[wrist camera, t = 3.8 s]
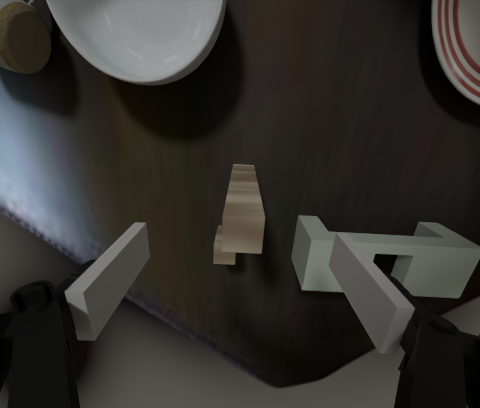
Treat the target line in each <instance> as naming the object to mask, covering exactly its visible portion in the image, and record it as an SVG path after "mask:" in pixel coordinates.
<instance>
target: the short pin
mask: <svg viewBox="0 0 480 408" xmlns="http://www.w3.org/2000/svg"><path fill="white" fill-rule="evenodd" d="M222 229H223V225H218V229H217V234H216V238H215V243H214V264H232V265H235V254H236V252H222Z"/></svg>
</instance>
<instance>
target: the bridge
mask: <svg viewBox="0 0 480 408" xmlns="http://www.w3.org/2000/svg"><path fill="white" fill-rule="evenodd" d="M336 233H344V232H328V230H327V229H326V228H325V226H324V225H323V224H322V222H321V221H320V219H319V218H318V217H317V216H300V215H298V220H297V226H296V233H295V239H294V245H293V251H292V257H291V259H292V262H293V265H294V268H295V271H296V274H297V277H298V280H299V283H300V286H301V289H302V290H311V291H330V292H343V290H342V288H341V287H340V285H339V283H338V282H337V280H336V278H335V276H334V275H333V273H332V271H331V270H330V268H329V261H330V257H331V252H332V248H333V244H334V239H335V235H336ZM347 234H348V235H349V236H350V237H351V238H352V239H353V240H354V242H355V243H356V244H357V245H358V246H359V247H360V248H361V249H362V250H363V252H364V253H365V254H366V255H367V256H368V257H369V258H370V259H371V260H372V261H373V260H374V256H375V254H393V255H398V256H397V259H396V262H395V265H394V267H393V270H392V273H391V276H393V277H394V278H396V279H397V280H398V281H399V282H400V283H401V284H402V285H403V286H404V288H406V289H407V290H408V291H409V292H410V294H412V295H413V296H425V297H445V298H459V297H460V296H461V294H462V292H463V290H464V288H465V286H466V284H467V282H468V280H469V278H470V276H471V274H472V273H473V271H474V269H475V267H476V265H477V263H478V261H479V259H480V246H478V245H476V244H475V243H473V242H471V241H469V240H467V239H466V238H464V237H462V236H460V235H458V234H457V233H455V232H453V231H451V230H449V229H448V228H446V227H444V226H442V225H440V224H439V223H430V222H418V225H417V228H416V230H415V233H414V236H400V235H381V234H363V233H347Z"/></svg>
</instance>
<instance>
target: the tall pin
mask: <svg viewBox="0 0 480 408" xmlns="http://www.w3.org/2000/svg"><path fill="white" fill-rule="evenodd" d="M264 224H265V215H264V210H263V205H262V200H261V196H260V191H259V186H258V181H257V177H256V172H255V167H254V165H239V164H233V169H232V174H231V178H230V183H229V188H228V193H227V198H226V203H225V208H224V212H223V229H222V252H239V253H258V254H261V253H262V244H263V234H264Z"/></svg>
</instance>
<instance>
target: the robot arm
mask: <svg viewBox="0 0 480 408" xmlns="http://www.w3.org/2000/svg"><path fill="white" fill-rule="evenodd" d="M149 258H150V255H149V245H148V235H147V226H146V223H134V224H133V225H132V226H131V227H130V228H129V229H128V230H127V231H126V232H125V233H124V234H123V235H122V236H121V237H120V238H119V239H118V240H117V241H116V242H115V243H114V244H113V245H112V246H111V247H110V248H109V249H107V250H106V251H105V252H104V253H103V254H102V255H101V256H100V257H99V258H98V259H97V260H90V261H88V262H86V263H84V264H82V265H81V266H80V267H79V268H78V269H77V270H76V271H75V272H74V273H73V274H71V275H70V276H69V278H67V279H66V280H65V281H64V282H63V283H61V284H60V285H59V286H58V287H57V288H56V289H55V290H54V287H53V284H52V283H51V282H50V281H47V280H45V281H36V282H32V283H29V284H27V285H24V286H22V287H21V288H19V289H17V290H16V291H15V292H14V293H12V295H11V297H10V301H11V303H12V306H13V309H14V311H15V312H10V313H4V314H0V391H1V388H2V386H3V384H4V381H5V379H6V377H7V374H8V372H9V370H10V367H11V375H10V386H9V398H8V408H80V404H79V397H78V391H77V384H76V377H75V371H74V364H73V358H72V352H71V344H70V341H69V338H70V336H71V335H72V333H73V332H74V331H75V332H76V335H77V339H78V340H94V341H95V339H96V338H97V336H98V335H99V333H100V332H101V330H102V329H103V327H104V326H105V324H106V323H107V321H108V320H109V318H110V317H111V314H112V313H113V312H114V311H115V309H116V307H117V306H118V304H119V303H120V301H121V300H122V298H123V297H124V295H125V294H126V292H127V291H128V289H129V288H130V286H131V285H132V283H133V282H134V280H135V279H136V277H137V276H138V274H139V273H140V271H141V270H142V268H143V267H144V265H145V264H146V262H147V261H148V259H149ZM329 268H330V270H331V271H332V273H333V275H334V276H335V278H336V280H337V282H338V283H339V285H340V287H341V288H342V290H343V292H344V294H345V295H346V297H347V299H348V300H349V302H350V304H351V306H352V307H353V309H354V311H355V312H356V314H357V316H358V318H359V319H360V321H361V323H362V324H363V326H364V328H365V330H366V331H367V333H368V335H369V336H370V338H371V340H372V342H373V343H374V345H375V347H376V348H377V350H378V352H379V353H382V354H383V353H384V354H396V352H397V350H398V347H399V345H401V347H402V348H403V350H404V351H405V355H404V357H403V359H402V362H401V364H400V366H399V368H398V370H400V371H401V372H400V378H399V383H398V389H397V394H396V399H395V405H394V408H467V406H468V408H480V335H479V336H475V335H471V334H468V333H465V332H461V331H459V330H458V328H457V327H456V326H455V325H454V324H452V323H451V322H450V321H448V320H446V319H445V318H443V317H441V316H438V315H435V314H430V313H429V312H428V311H427V310H426V309H425V308H424V307H423V306H422V305H421V304H420V303H419V301H418V300H417V299H416V298H415V297H414V296H413V295H412V294H410V292H409V291H408V290H407V289H406V288H404V286H403V285H402V284H401V283H400V282H399V281H398V280H397V279H396V278H394V277H393V276H391V275H390V274H388V273H383V272H382V271H381V270H380V269H379V268H378V267H377V266H376V265H375V264H374V263H373V261H372V260H371V259H370V258H369V257H368V256H367V255H366V254H365V253H364V252H363V250H362V249H361V248H360V247H359V246H358V245H357V244H356V243H355V242H354V240H353V239H352V238H351V237H350V236H349V235H348V234H347V233H336V235H335V239H334V244H333V248H332V252H331V257H330V261H329Z"/></svg>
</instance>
